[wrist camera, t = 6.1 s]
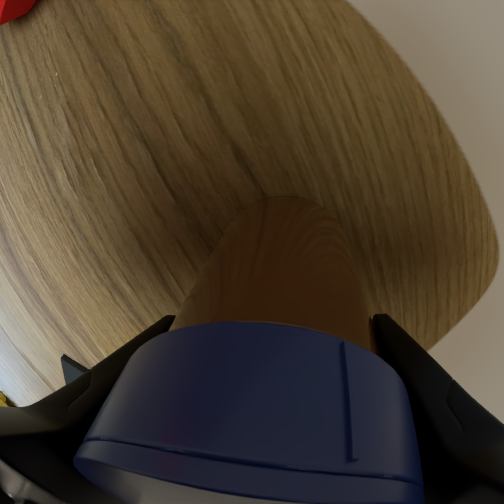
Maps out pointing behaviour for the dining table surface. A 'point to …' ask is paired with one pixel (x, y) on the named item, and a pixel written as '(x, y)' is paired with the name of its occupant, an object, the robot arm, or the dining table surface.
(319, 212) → the jam jar
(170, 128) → the dining table surface
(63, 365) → the mat
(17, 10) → the apple
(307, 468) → the jar lid
